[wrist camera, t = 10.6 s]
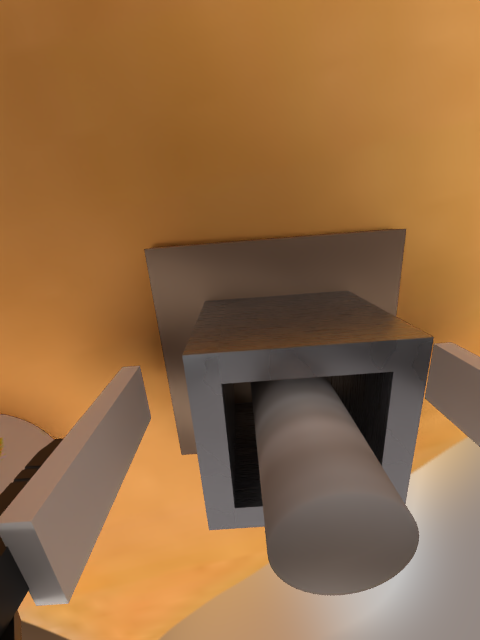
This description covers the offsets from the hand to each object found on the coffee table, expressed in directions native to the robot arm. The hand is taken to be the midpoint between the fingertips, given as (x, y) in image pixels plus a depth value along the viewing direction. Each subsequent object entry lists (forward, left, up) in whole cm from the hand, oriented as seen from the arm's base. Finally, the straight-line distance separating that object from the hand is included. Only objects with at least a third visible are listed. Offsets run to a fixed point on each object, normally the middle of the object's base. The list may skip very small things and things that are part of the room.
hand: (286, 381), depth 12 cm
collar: (0, 0, -2) cm, 2 cm away
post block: (0, 0, -4) cm, 4 cm away
